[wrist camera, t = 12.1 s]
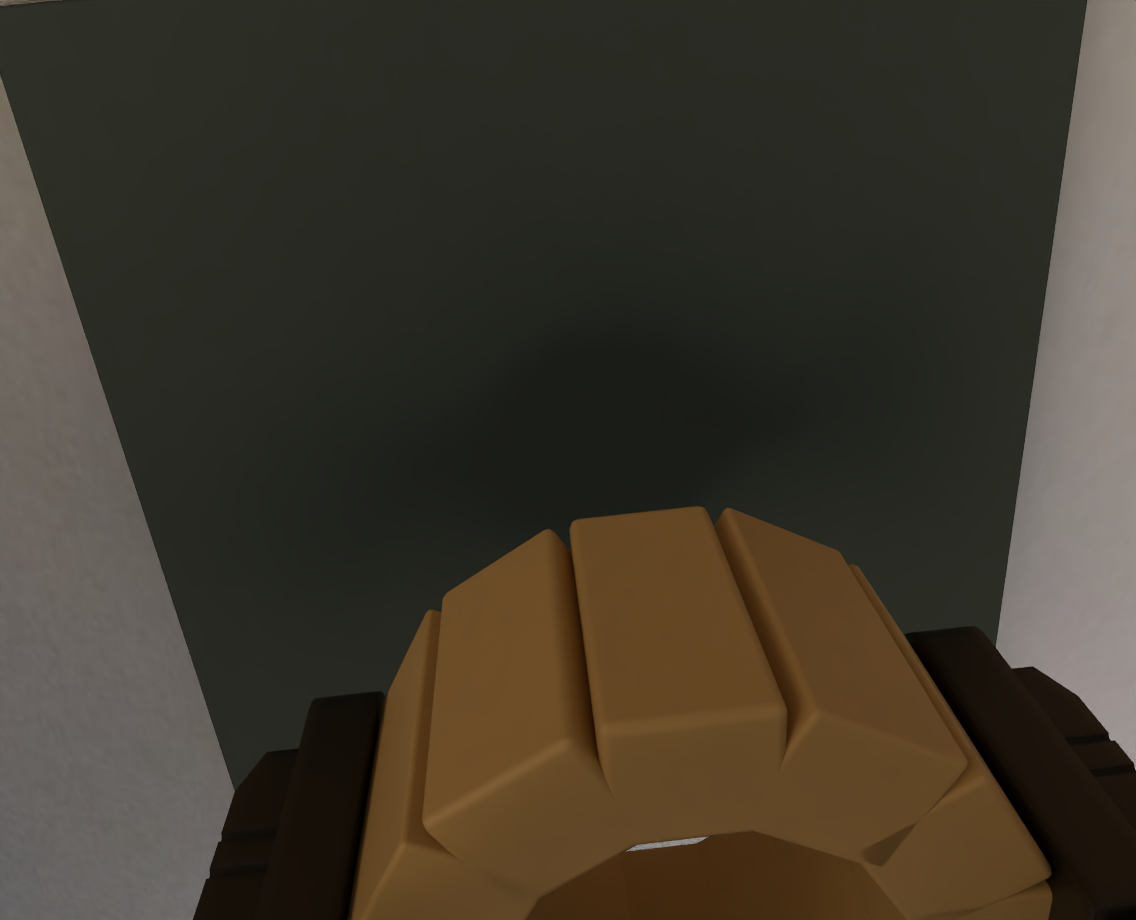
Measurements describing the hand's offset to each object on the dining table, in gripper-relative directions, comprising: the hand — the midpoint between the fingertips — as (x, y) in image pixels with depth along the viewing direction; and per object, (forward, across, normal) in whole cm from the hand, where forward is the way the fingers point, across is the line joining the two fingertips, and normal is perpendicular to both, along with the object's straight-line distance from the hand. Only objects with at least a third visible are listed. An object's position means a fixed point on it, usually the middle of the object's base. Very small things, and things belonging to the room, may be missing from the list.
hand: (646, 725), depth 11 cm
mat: (+8, 0, 0) cm, 8 cm away
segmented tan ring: (0, 0, 0) cm, 0 cm away
